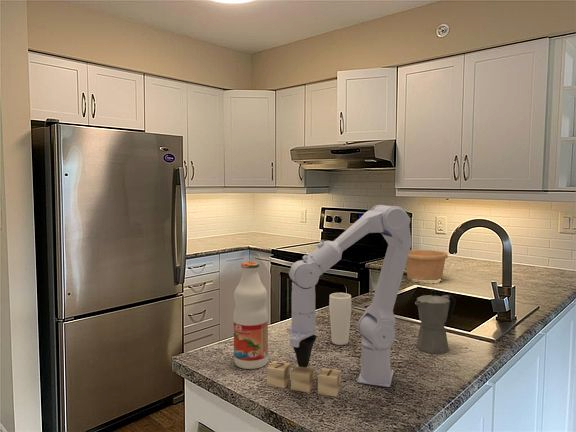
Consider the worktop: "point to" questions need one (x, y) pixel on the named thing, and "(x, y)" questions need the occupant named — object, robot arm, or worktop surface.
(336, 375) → the block one
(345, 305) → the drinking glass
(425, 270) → the pottery
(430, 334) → the coffeepot
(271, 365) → the block seven
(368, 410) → the worktop surface
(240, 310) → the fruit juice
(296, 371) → the plain block
